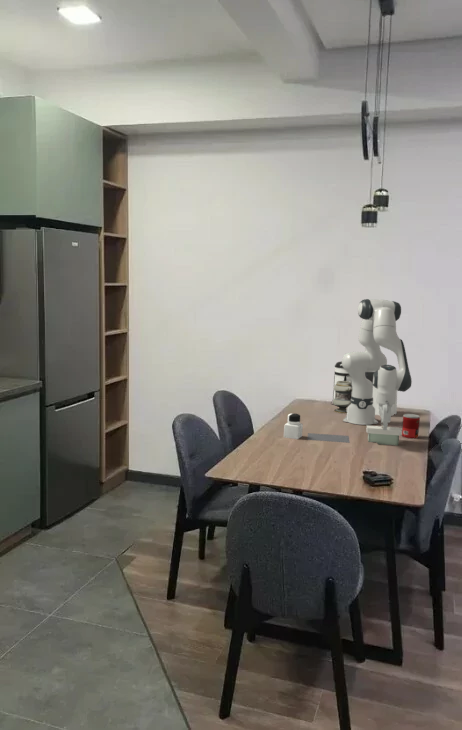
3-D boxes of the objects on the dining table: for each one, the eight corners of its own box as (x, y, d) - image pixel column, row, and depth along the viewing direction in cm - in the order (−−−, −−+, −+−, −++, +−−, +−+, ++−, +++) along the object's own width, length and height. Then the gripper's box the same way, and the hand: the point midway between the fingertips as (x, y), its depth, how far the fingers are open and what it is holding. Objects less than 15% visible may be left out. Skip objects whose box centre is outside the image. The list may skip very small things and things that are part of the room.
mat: (307, 434, 317) (307, 433, 317) (348, 437, 314) (348, 435, 314) (307, 441, 303) (307, 439, 303) (349, 444, 301) (349, 442, 300)
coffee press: (330, 406, 393) (333, 358, 389) (330, 402, 409) (333, 355, 405) (359, 408, 390) (362, 360, 387) (358, 403, 406) (361, 357, 402)
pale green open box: (367, 440, 309) (368, 430, 308) (397, 443, 307) (397, 432, 306) (368, 443, 304) (369, 433, 303) (398, 445, 302) (399, 435, 301)
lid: (366, 430, 309) (366, 422, 308) (399, 432, 307) (400, 425, 306) (366, 433, 303) (367, 425, 302) (401, 435, 301) (401, 427, 300)
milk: (378, 411, 385) (381, 368, 382) (396, 413, 379) (399, 370, 375) (370, 413, 376) (373, 370, 372) (388, 416, 369) (391, 372, 366)
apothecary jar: (332, 408, 386) (333, 379, 384) (352, 410, 384) (354, 380, 382) (332, 412, 374) (334, 382, 372) (353, 414, 373) (355, 383, 370)
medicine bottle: (302, 437, 310) (303, 413, 308) (297, 440, 304) (298, 416, 302) (288, 435, 313) (289, 411, 311) (283, 438, 306) (284, 414, 305)
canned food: (418, 439, 316) (420, 417, 315) (402, 437, 318) (403, 416, 317) (417, 435, 324) (419, 414, 322) (401, 434, 325) (402, 413, 324)
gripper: (395, 403, 292) (392, 433, 294) (390, 396, 312) (388, 423, 314) (381, 402, 293) (379, 432, 295) (377, 395, 313) (375, 422, 315)
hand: (383, 427), depth 304 cm, fingers open, 8 cm apart
